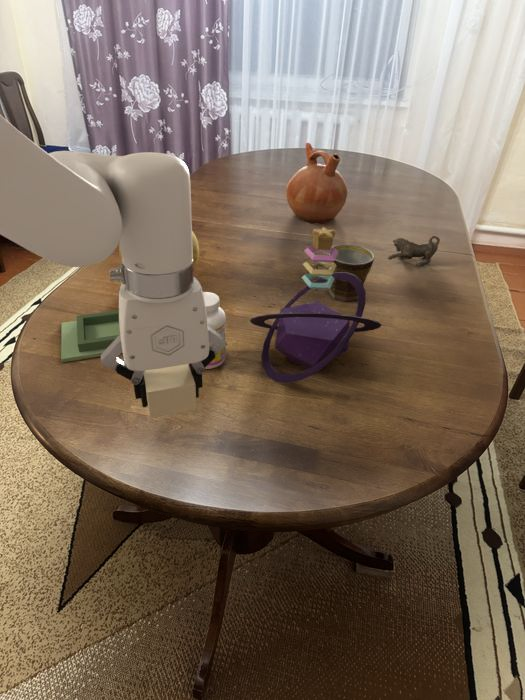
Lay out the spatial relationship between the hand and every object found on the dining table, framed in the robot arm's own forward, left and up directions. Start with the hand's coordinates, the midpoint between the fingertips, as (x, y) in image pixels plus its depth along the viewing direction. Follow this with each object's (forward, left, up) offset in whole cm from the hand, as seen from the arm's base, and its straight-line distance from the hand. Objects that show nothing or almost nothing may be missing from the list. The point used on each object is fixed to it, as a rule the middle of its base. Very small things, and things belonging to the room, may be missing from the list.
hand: (169, 394), depth 62 cm
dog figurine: (+69, +45, -11) cm, 83 cm away
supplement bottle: (+9, +19, -11) cm, 24 cm away
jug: (+57, +80, -11) cm, 99 cm away
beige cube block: (0, 0, -1) cm, 1 cm away
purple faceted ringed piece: (+27, +14, -11) cm, 33 cm away
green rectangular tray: (-8, +31, -10) cm, 34 cm away
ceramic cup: (+43, +34, -11) cm, 56 cm away
